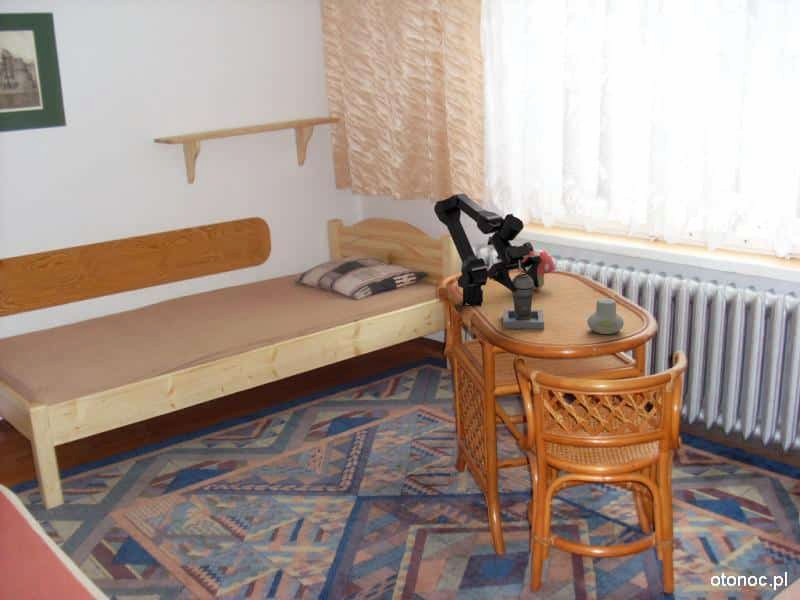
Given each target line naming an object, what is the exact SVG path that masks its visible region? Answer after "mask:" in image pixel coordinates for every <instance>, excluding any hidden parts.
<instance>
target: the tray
mask: <svg viewBox="0 0 800 600" xmlns="http://www.w3.org/2000/svg"><path fill="white" fill-rule="evenodd" d="M502 311H503V312H502V313H503V314H502V316H503V317H502V325H503V326H502V329H503V330H521V329H539V330H540V331H544V330H545V320H544V319H545V318H544V313H543V310H542V309H531V315H530V320H516V319H515V311H514V309H503V310H502Z"/></svg>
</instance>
